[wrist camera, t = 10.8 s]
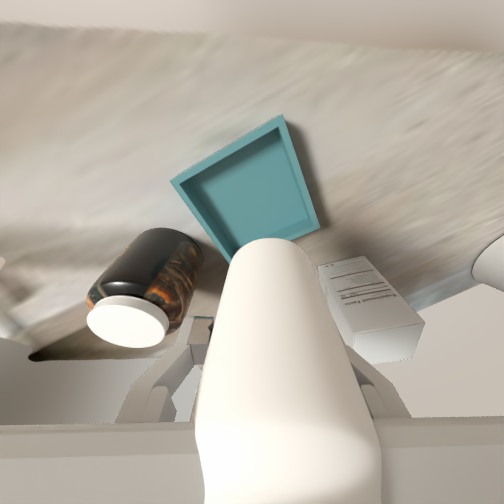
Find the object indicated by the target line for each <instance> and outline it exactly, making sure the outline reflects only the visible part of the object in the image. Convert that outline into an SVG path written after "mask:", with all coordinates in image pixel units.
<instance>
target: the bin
mask: <svg viewBox="0 0 504 504" xmlns="http://www.w3.org/2000/svg"><path fill="white" fill-rule="evenodd" d="M170 182H171V184H172V185H173V186H174V188H175V189H176V191H177V192H178V193H179V195H180V196H181V198H182V199H183V200H184V202H185V203H186V205H187V206H188V207H189V209H190V210H191V212H192V213H193V214H194V216H195V217H196V219H197V220H198V221H199V223H200V224H201V226H202V227H203V228H204V230H205V231H206V232H207V234H208V235H209V237H210V238H211V239H212V241H213V242H214V244H215V245H216V246H217V248H218V249H219V251H220V252H221V253H222V255H223V256H224V258H225V259H226V260H227V262H228V263H229V265H230V263H231V261H232V258H233V257H234V255H235V254H236V253H237V251H238V250H239V249H240V248H242V247H243V246H244V245H246V244H248V243H250V242H252V241H255V240H258V239H263V238H279V239H284V240H288V241H291V240H293V239H296V238H298V237H300V236H303V235H305V234H308V233H310V232H312V231H315V230H317V229H319V228H320V225H319V222H318V219H317V216H316V213H315V210H314V207H313V204H312V201H311V198H310V195H309V192H308V189H307V186H306V183H305V180H304V177H303V174H302V171H301V168H300V165H299V162H298V159H297V156H296V153H295V150H294V147H293V144H292V141H291V138H290V135H289V132H288V129H287V126H286V123H285V120H284V117H283V114H282V115H278V116H276V117H274V118H273V119H271V120H269V121H268V122H266V123H264V124H263V125H261V126H259V127H257V128H256V129H254V130H252V131H251V132H249V133H247V134H246V135H244V136H242V137H241V138H239V139H237V140H236V141H234V142H232V143H230V144H229V145H227V146H225V147H224V148H222V149H220V150H219V151H217V152H215V153H214V154H212V155H210V156H208V157H207V158H205V159H203V160H202V161H200V162H198V163H197V164H195V165H193V166H192V167H190V168H188V169H187V170H185V171H183V172H181V173H180V174H178V175H177V176H176V177H174V178H173V179H172V180H170Z"/></svg>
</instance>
